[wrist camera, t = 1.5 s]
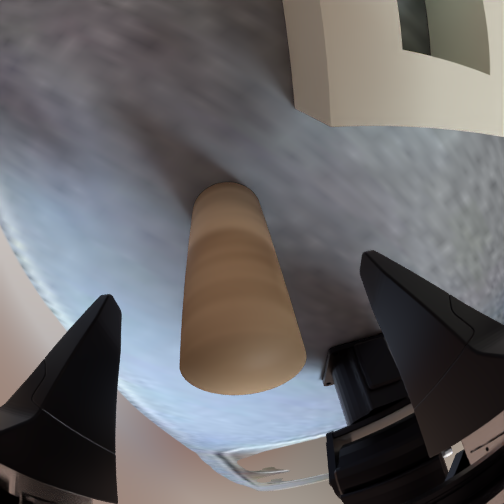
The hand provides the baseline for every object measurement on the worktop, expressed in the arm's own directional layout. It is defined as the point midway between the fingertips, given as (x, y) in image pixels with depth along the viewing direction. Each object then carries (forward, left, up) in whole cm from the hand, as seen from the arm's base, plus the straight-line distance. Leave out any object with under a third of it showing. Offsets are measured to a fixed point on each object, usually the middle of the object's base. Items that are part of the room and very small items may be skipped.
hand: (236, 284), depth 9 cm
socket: (+10, -8, -5) cm, 14 cm away
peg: (0, 0, -5) cm, 5 cm away
